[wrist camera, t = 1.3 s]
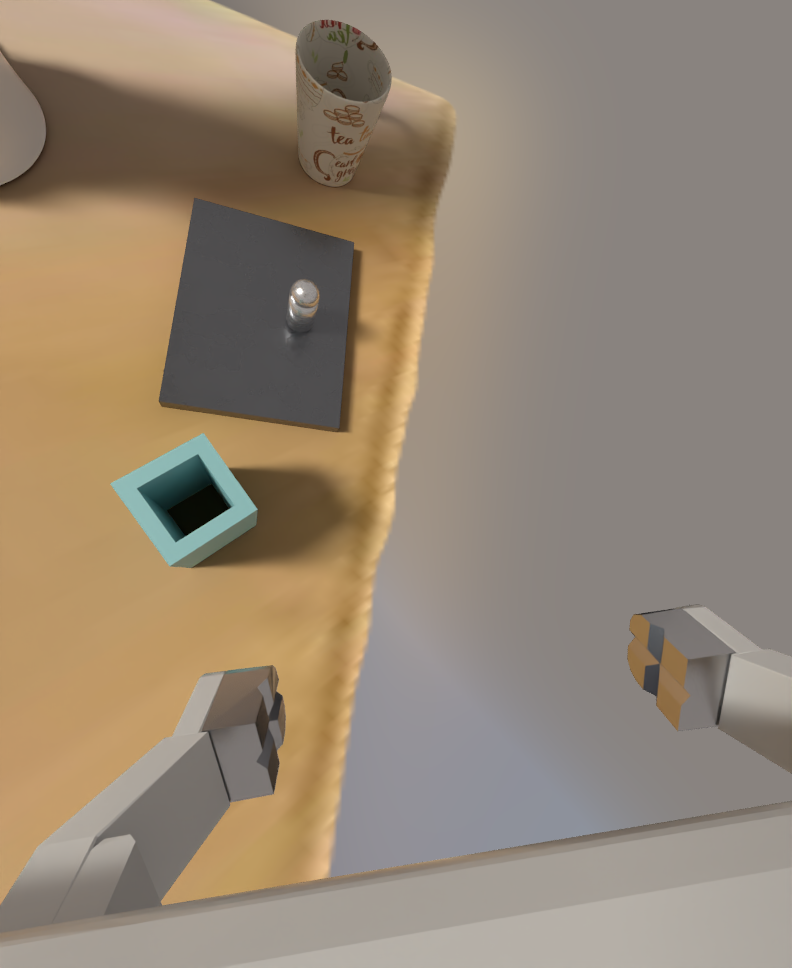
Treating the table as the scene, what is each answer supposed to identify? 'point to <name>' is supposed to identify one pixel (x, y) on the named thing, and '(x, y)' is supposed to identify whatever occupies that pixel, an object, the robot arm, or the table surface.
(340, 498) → the table surface
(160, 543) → the sleeve
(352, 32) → the mug
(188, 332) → the plate
